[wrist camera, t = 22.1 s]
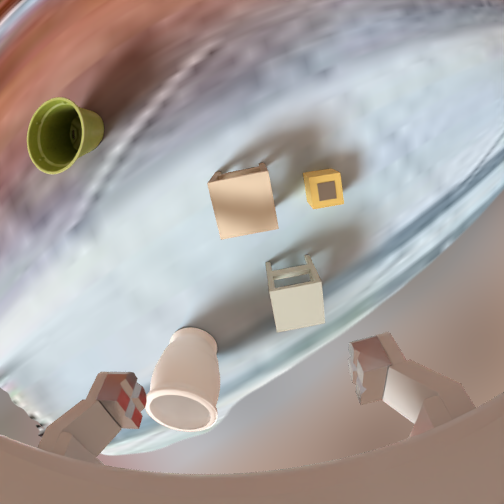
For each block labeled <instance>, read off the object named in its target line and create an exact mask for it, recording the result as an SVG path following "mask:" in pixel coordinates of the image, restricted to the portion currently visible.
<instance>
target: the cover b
mask: <svg viewBox="0 0 504 504" xmlns="http://www.w3.org/2000/svg"><path fill="white" fill-rule="evenodd" d="M304 256H305V261H306V263H307V264H306V265H301V266H296V267H290V268H285V269H280V270H274V271H272V269H271V263H270V262H266V271H267V278H268V286H269V293H270V298H271V303H272V308H273V313H274V319H275V324H276V329H277V332H282V331H288V330H293V329H298V328H303V327H308V326H313V325H318V324H323V323H325V317H324V304H323V292H322V282H321V280H320V277H319V275H318V273H317V271H316V268H315V266H314V264H313V262H312V260H311V258H310V255H304ZM305 274H309V276H310V282H305V283H300V284H294V285H289V286H284V287H279V288H275V285H274V280H278V279H284V278H289V277H294V276H300V275H305Z"/></svg>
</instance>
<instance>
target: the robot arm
mask: <svg viewBox="0 0 504 504" xmlns="http://www.w3.org/2000/svg"><path fill="white" fill-rule="evenodd" d="M348 350H349V353H350V355H351V356H350V358H349V359H348V364H349V365H348V366H349V373H350V377H351V380H352V383H354V384H356V394H357V397H358V400H359V403H360V405H363V404H367V403H371V402H375V401H379V400H383V401H384V402H385V403H387V404H388V405H389V406H391V407H392V408H393V409H395V410H396V411H398V412H399V413H400V414H402V415H403V416H404V417H406V418H407V419H408V420H410V421H411V422H413V423H414V427H413V429H412V431H411V434H410V436H409V438H408V439H405V440H402V441H400V442H396V443H394V444H391V445H388V446H384V447H381V448H378V449H375V450H372V451H368V452H364V453H361V454H357V455H353V456H349V457H345V458H341V459H337V460H332V461H328V462H323V463H318V464H312V465H307V466H301V467H295V468H288V469H280V470H272V471H262V472H251V473H234V474H176V473H175V474H174V473H161V472H150V471H139V470H131V469H125V468H118V467H112V466H106V465H104V464H103V463H102V462H101V461H100V460H99V459H97V458H96V457H97V456H98V455H99V454H100V453H101V452H102V450H103V449H104V448H105V447H106V446H107V445H108V444H109V443H110V442H111V440H112V439H113V438H114V437H115V436H116V435H117V434H118V433H119V431H120V430H121V428H129V429H139V427H140V423H141V420H142V417H143V416H142V414H141V411H142V410H143V409H144V408H145V406H146V402H147V398H146V392H145V390H144V388H143V387H142V385H140V384H138V383H137V377H136V376H135V374H134V373H133V372H100V373H99V374H98V375H97V377H96V379H95V381H94V383H93V385H92V387H91V389H90V391H89V394H88V396H87V398H86V400H82V401H80V402H79V403H78V404H76V405H75V406H74V407H73V408H71V409H70V410H69V411H67V412H66V413H65V414H64V415H62V416H61V417H60V418H58V419H57V420H56V421H54V422H53V423H52V424H51V425H49V426H48V427H47V428H46V430H45V433H44V435H43V437H42V439H41V441H40V443H39V445H38V448H35V447H32V446H30V445H27V444H24V443H21V442H18V441H16V440H13V439H10V438H8V437H5V436H3V435H1V434H0V504H504V392H503V393H501V394H500V395H498V396H496V397H494V398H493V399H491V400H489V401H488V402H486V403H484V404H482V405H480V406H479V407H477V408H476V407H475V406H474V404H473V402H472V401H471V399H470V397H469V396H468V394H467V393H466V391H465V389H464V388H463V386H462V385H461V383H459V382H457V381H454V380H452V379H450V378H448V377H446V376H444V375H441V374H440V373H437V372H435V371H433V370H431V369H429V368H427V367H425V366H423V365H420V364H419V363H416V362H414V361H412V360H406V358H405V357H404V355H403V353H402V352H401V350H400V348H399V347H398V345H397V343H396V342H395V340H394V338H393V337H392V335H391V333H389V332H385V333H382V334H378V335H376V336H371V337H368V338H364V339H360V340H356V341H352V342H349V349H348Z"/></svg>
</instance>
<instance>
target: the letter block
mask: <svg viewBox="0 0 504 504" xmlns="http://www.w3.org/2000/svg"><path fill="white" fill-rule="evenodd" d="M303 177H304V184H305V190H306V196H307V202H308V203H309V204H310V206H311V207H312V208H313V209H318V208H323V207H329V206H335V205H341V204H344V200H343V191H342V183H341V175H340V172H338V171H336V170H334V169H332V168H330V169H324V170H317V171H311V172H305V173H303Z"/></svg>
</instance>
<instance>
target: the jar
mask: <svg viewBox="0 0 504 504" xmlns="http://www.w3.org/2000/svg"><path fill="white" fill-rule="evenodd" d="M216 353H217V344H216V341H215V340H214V338H213V337H212V336H211V335H210V334H209V333H207V332H206V331H204V330H201V329H198V328H192V327H190V328H183V329H180V330H178V331H176V332H175V333H174V334H173V335H172V337H171V339H170V344H169V345H168V346H167V347H166V349H165V350H164V352H163V354H162V356H161V357H160V359H159V360H158V362H157V364H156V366H155V369H154V371H153V375H152V379H151V385H150V392H149V393H148V394H147V395H146V398H147V402H146V406H145V409H146V411H147V413H148V414H149V415H150V417H151V418H153V419H154V420H155V421H156V422H158V423H160V424H161V425H163V426H166V427H168V428H171V429H174V430H179V431H186V432H195V431H201V430H205V429H207V428H209V427H211V426H212V425H214V423H215V422H216V420H217V408H216V404H217V401H218V397H219V391H220V374H219V365H218V359H217V356H216Z"/></svg>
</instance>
